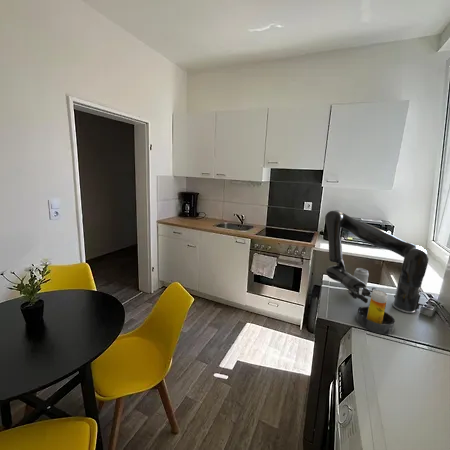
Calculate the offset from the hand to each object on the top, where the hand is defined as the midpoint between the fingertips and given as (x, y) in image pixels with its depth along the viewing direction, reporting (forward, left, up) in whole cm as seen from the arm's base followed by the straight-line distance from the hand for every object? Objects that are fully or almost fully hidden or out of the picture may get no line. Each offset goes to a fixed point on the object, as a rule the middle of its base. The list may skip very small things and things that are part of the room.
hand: (375, 301), depth 112 cm
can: (-16, -32, -11) cm, 38 cm away
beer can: (0, +2, -10) cm, 10 cm away
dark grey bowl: (0, +2, -11) cm, 11 cm away
